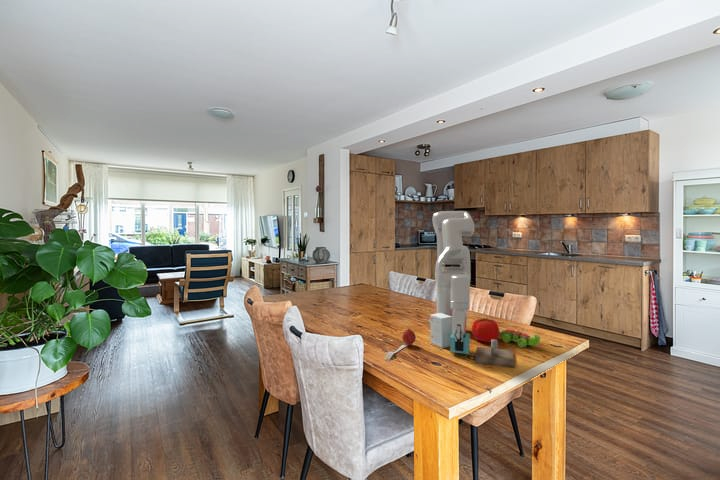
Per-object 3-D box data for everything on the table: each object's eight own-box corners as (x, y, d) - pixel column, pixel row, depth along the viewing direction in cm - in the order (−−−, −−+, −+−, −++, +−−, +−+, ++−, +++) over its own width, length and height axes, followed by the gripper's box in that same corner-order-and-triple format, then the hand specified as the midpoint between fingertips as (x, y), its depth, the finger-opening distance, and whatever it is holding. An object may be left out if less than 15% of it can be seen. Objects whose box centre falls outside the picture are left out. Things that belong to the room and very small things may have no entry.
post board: (474, 362, 132) (474, 345, 132) (476, 348, 147) (476, 332, 147) (514, 367, 127) (514, 349, 127) (512, 352, 142) (512, 336, 142)
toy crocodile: (492, 339, 160) (492, 326, 160) (501, 336, 164) (501, 323, 163) (533, 351, 144) (533, 337, 143) (542, 348, 147) (542, 334, 147)
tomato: (496, 337, 162) (496, 315, 161) (501, 345, 150) (501, 322, 150) (470, 336, 164) (470, 314, 164) (472, 344, 153) (472, 321, 152)
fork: (408, 351, 153) (408, 345, 153) (388, 362, 135) (388, 355, 135) (402, 350, 154) (402, 344, 154) (382, 361, 136) (382, 354, 136)
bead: (450, 351, 141) (450, 337, 140) (452, 345, 147) (452, 332, 147) (468, 354, 138) (468, 339, 138) (469, 347, 144) (469, 333, 144)
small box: (453, 345, 151) (453, 316, 151) (441, 348, 149) (441, 318, 148) (441, 340, 159) (441, 312, 158) (430, 342, 156) (429, 314, 155)
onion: (401, 343, 155) (401, 326, 155) (414, 343, 155) (414, 325, 155) (403, 348, 150) (403, 329, 149) (416, 347, 150) (416, 329, 149)
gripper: (453, 299, 151) (453, 339, 152) (448, 309, 135) (448, 354, 136) (471, 300, 148) (471, 341, 149) (468, 311, 132) (468, 356, 133)
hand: (460, 347), depth 142 cm, fingers closed on bead, 7 cm apart
